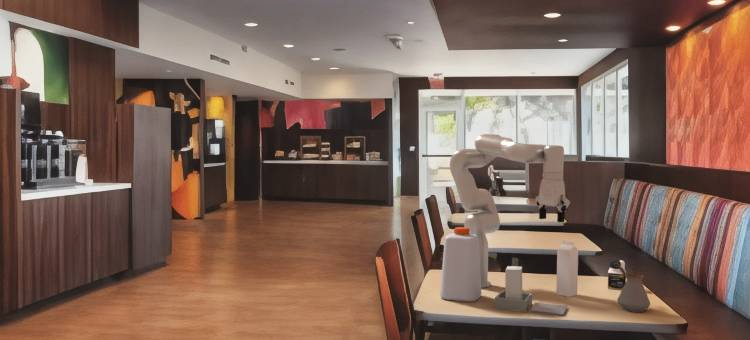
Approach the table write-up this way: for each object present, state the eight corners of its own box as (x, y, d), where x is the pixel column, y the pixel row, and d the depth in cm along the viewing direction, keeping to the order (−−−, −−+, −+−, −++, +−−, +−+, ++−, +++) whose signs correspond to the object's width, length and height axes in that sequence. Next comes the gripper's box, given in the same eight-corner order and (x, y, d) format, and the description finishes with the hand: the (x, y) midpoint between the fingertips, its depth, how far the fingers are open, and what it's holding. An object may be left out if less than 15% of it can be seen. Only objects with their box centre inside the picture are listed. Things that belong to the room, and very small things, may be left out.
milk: (568, 297, 249) (569, 243, 248) (555, 294, 254) (557, 241, 253) (577, 295, 253) (578, 241, 252) (565, 292, 258) (566, 239, 257)
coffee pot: (656, 313, 227) (657, 273, 226) (625, 313, 226) (626, 273, 225) (629, 298, 248) (630, 261, 247) (601, 298, 247) (602, 261, 247)
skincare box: (520, 309, 230) (521, 270, 229) (504, 308, 232) (505, 268, 231) (522, 304, 238) (523, 265, 237) (506, 302, 240) (507, 264, 239)
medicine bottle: (607, 288, 265) (608, 260, 265) (608, 285, 272) (608, 258, 271) (625, 290, 262) (626, 262, 262) (625, 286, 269) (626, 259, 269)
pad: (529, 312, 226) (529, 309, 226) (535, 304, 237) (535, 302, 237) (563, 316, 221) (563, 313, 221) (567, 308, 232) (567, 306, 232)
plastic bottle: (447, 291, 257) (448, 224, 256) (483, 294, 252) (484, 226, 251) (437, 299, 243) (438, 229, 242) (475, 303, 238) (476, 231, 237)
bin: (494, 308, 231) (494, 297, 231) (502, 300, 243) (502, 290, 243) (525, 311, 227) (526, 301, 226) (532, 303, 238) (532, 293, 238)
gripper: (530, 175, 246) (528, 218, 247) (562, 178, 231) (561, 223, 232) (544, 175, 250) (542, 217, 251) (576, 178, 235) (575, 222, 236)
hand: (551, 220), depth 241 cm, fingers open, 9 cm apart
